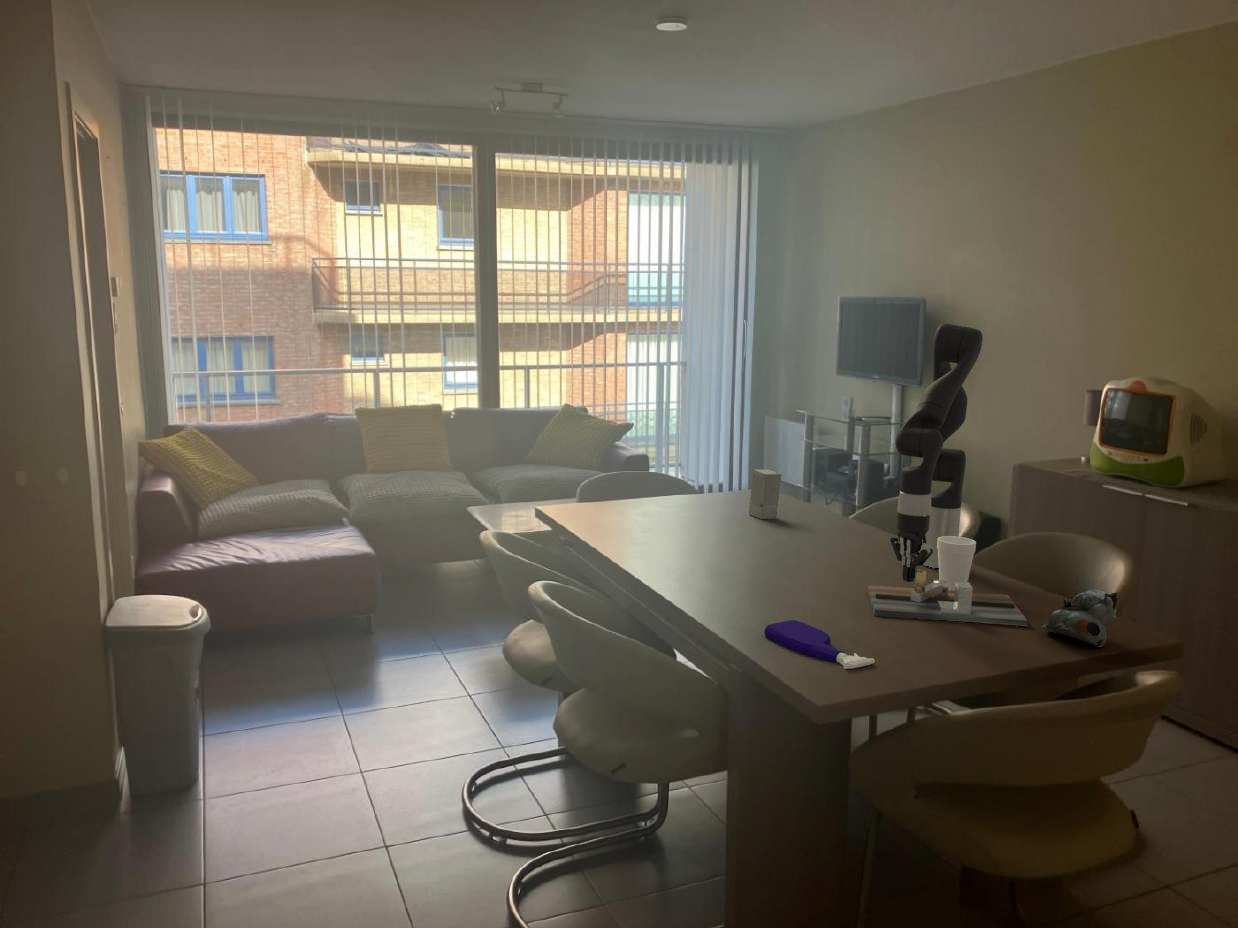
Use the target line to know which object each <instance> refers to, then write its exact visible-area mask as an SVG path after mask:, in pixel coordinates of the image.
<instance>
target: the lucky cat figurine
mask: <svg viewBox="0 0 1238 928" xmlns="http://www.w3.org/2000/svg"><path fill="white" fill-rule="evenodd" d="M1117 595H1118V592H1112V593H1107V591H1102V590H1099V589H1088V590H1085V591H1084V592H1080V593H1077V595H1075V596H1073V598H1072V600H1071V599H1069V598H1067V597H1066V598H1065V599H1064V600H1063V601H1062V604H1063V607H1061V608H1060V609H1058V610H1054V611H1053V612H1052V613H1051V614H1050V616H1049V618H1048V620H1047V623H1045V624H1043V625H1042V626H1041V628H1042V630H1044V631H1046V632H1047V631H1048V632H1053V633H1054V634H1058V633H1059V634H1060V635H1063V634H1064V636H1066V635H1067V637H1069V636H1070V637H1069V638H1072V639H1076V640H1078V641H1082V642H1083V643H1087V644H1090V645H1092V644H1093V645H1096V646H1100V645H1104V644H1105V645H1106V642H1107V637H1108V636H1107V635H1108V633H1107V630H1108V628H1109V627H1110V626H1111V624H1112V623H1114V621H1115V620H1116V619H1117V618H1116V617H1117V602H1118V599H1117ZM1053 633H1052V634H1053ZM1093 645H1092V646H1093ZM1105 645H1104V646H1105Z"/></svg>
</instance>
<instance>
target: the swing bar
mask: <svg viewBox="0 0 1238 928" xmlns="http://www.w3.org/2000/svg"><path fill="white" fill-rule="evenodd" d="M927 573H928V572H927V570H924V569H916V570H915V579H914V581H915V582H914V588H915V590H914V591H912V592H911V600H912V601H916V602H922V601H924V600H926V599H929V598H931V597H933V596H935V595H937V594H939V593H941V592H947V591H948V587H949V582H948V581H945V580H939V579H934V580H933V582H931V583H929V584H927V585H926V583H927Z"/></svg>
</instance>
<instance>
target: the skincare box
mask: <svg viewBox="0 0 1238 928" xmlns="http://www.w3.org/2000/svg"><path fill="white" fill-rule="evenodd" d="M781 481H782V473H779V472H776V471H774V470H770V469H756V468H755V469H753V472H752V480H751V488H750V489H751V490H750V498H749V499H750V500H749V507H748V515H749V516H753V517H754V518H757V519H760V520H771V519H773V520H775V519H777V517H778V515H777V514H778V506H779V498H780V490H781V489H780V488H781Z"/></svg>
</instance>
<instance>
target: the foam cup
mask: <svg viewBox="0 0 1238 928" xmlns="http://www.w3.org/2000/svg"><path fill="white" fill-rule="evenodd" d="M976 547H977V541H976V540H974V539H972V538H968V537H963V536H959V537H957V536H942V537H938V540H937V548H938V564H939V569H938V578H939V579H938V580H945V581H948V582H949V587H948V590H949V591H955V583H956V582H969V578H970V572H971V568H972V563H973V559H974V555H975V553H976Z"/></svg>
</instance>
